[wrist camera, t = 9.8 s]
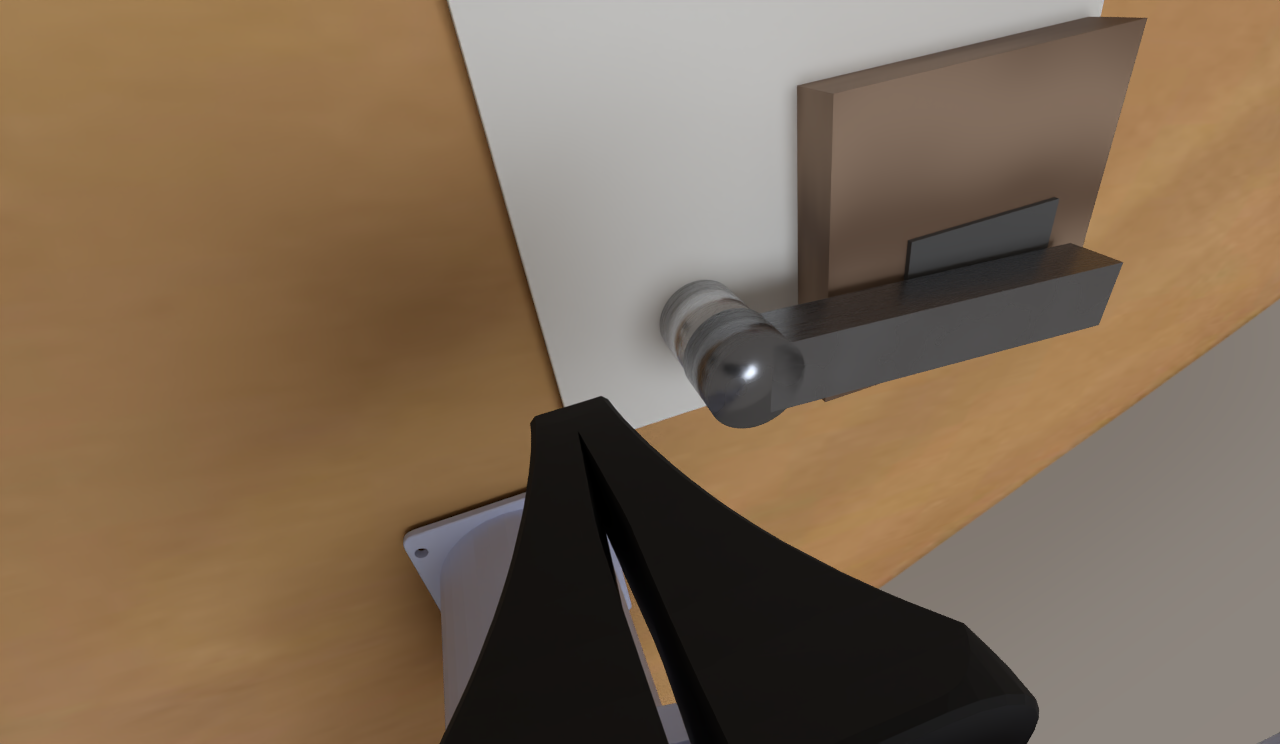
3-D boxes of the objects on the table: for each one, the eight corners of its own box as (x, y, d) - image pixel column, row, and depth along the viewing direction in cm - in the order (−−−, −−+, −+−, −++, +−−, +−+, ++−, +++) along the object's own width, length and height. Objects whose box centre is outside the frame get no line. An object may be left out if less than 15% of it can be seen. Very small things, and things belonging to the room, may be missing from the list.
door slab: (1021, 302, 26) (1061, 322, 25) (798, 375, 25) (825, 401, 23) (1088, 16, 20) (1147, 18, 19) (796, 85, 18) (833, 93, 17)
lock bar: (684, 403, 20) (708, 439, 18) (681, 319, 18) (706, 350, 17) (1047, 311, 23) (1094, 334, 22) (1074, 232, 22) (1127, 250, 20)
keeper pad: (1032, 287, 23) (1036, 289, 23) (898, 331, 22) (901, 333, 22) (1054, 197, 21) (1059, 198, 21) (907, 240, 20) (911, 242, 20)
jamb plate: (1013, 290, 27) (1031, 299, 26) (571, 432, 24) (576, 448, 23) (1160, -373, 16) (1199, -392, 15) (363, -289, 13) (359, -309, 12)
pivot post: (738, 341, 23) (766, 370, 21) (665, 364, 22) (686, 395, 20) (734, 270, 21) (763, 294, 19) (654, 293, 21) (676, 320, 19)
